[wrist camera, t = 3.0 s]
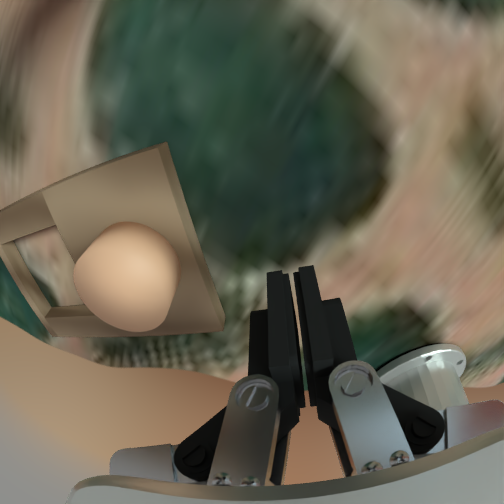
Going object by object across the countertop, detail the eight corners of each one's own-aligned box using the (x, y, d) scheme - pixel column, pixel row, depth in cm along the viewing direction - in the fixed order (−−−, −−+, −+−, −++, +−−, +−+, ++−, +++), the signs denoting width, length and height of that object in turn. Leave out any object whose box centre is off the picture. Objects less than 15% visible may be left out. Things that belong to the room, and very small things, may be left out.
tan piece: (225, 316, 22) (223, 331, 20) (58, 326, 24) (52, 336, 23) (167, 141, 15) (157, 147, 14) (-6, 213, 18) (-17, 221, 16)
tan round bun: (193, 295, 19) (183, 329, 16) (119, 303, 20) (103, 332, 17) (161, 211, 16) (141, 239, 13) (81, 231, 16) (57, 257, 14)
